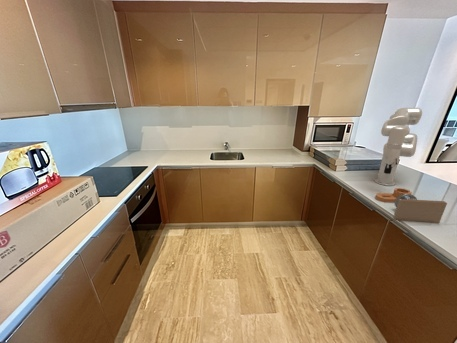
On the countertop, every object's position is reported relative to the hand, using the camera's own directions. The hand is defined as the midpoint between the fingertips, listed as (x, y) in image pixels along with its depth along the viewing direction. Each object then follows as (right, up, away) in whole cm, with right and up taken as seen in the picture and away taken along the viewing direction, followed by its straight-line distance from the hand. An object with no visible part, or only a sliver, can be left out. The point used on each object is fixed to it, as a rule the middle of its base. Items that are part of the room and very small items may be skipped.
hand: (387, 173), depth 129 cm
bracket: (-1, -18, -4) cm, 18 cm away
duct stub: (-5, -23, -20) cm, 31 cm away
